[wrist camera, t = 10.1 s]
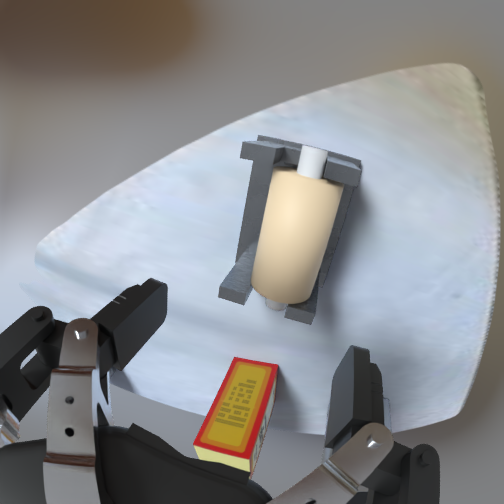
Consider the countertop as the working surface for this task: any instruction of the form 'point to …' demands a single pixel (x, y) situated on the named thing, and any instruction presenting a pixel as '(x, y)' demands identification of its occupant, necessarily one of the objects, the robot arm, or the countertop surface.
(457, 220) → the countertop surface
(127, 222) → the countertop surface
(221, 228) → the countertop surface
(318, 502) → the robot arm
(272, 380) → the baking soda box
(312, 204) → the paper roll
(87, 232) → the countertop surface
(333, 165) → the roll holder
